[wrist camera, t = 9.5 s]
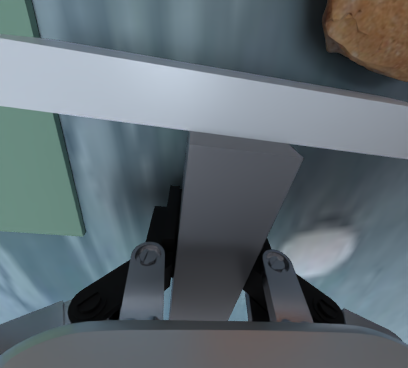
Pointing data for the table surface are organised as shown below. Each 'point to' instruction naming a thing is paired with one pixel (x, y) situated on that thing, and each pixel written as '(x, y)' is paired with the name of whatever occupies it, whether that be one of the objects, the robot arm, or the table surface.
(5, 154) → the mat
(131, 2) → the table surface
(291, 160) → the scraper
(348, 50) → the ceramic shard
